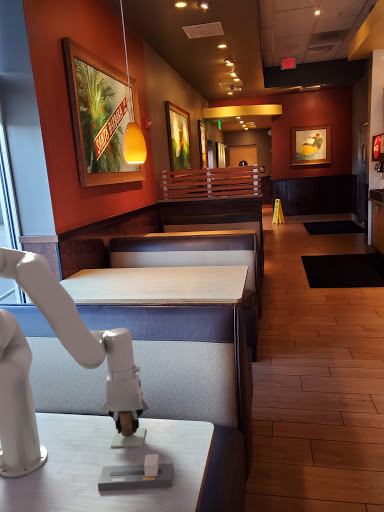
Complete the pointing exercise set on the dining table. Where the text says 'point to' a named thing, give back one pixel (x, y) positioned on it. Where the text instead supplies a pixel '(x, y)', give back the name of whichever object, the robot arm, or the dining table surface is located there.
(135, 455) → the dining table surface
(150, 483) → the switch board
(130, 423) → the tool handle
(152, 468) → the switch tab
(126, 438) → the mat
